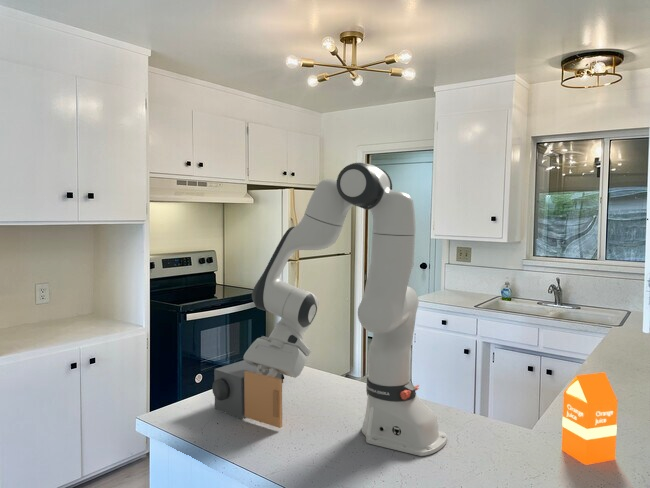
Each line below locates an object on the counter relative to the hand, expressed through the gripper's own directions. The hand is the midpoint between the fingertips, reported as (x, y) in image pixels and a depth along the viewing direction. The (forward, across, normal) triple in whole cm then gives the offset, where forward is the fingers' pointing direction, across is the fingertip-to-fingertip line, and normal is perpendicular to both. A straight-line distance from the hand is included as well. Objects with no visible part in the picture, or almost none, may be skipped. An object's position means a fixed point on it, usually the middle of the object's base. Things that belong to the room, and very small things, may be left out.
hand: (260, 383), depth 138 cm
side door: (+8, +2, +6) cm, 10 cm away
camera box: (+4, -11, +12) cm, 17 cm away
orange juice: (-18, +75, +35) cm, 85 cm away
